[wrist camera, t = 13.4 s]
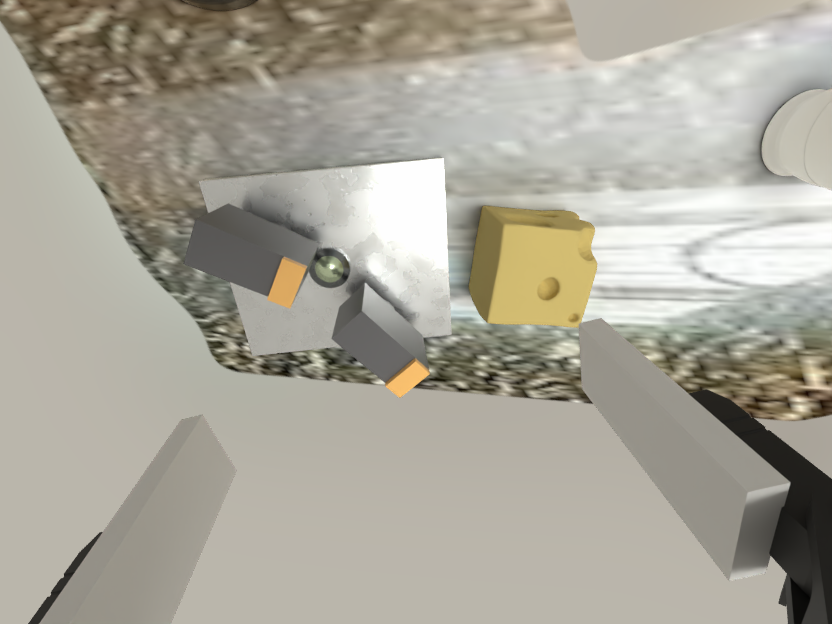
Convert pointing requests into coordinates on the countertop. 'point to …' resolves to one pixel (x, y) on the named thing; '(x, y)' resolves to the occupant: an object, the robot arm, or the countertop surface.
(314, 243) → the knob
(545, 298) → the cheese
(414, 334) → the orange-capped gray block
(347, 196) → the level plate
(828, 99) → the jar
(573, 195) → the countertop surface
